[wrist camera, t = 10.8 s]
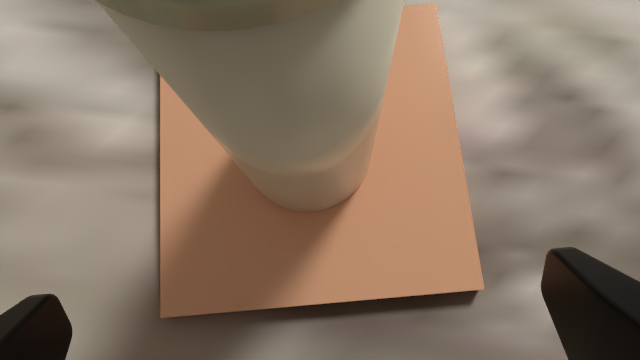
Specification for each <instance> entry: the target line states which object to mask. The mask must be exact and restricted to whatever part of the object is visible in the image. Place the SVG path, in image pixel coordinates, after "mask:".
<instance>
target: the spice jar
mask: <svg viewBox="0 0 640 360" xmlns="http://www.w3.org/2000/svg"><path fill="white" fill-rule="evenodd" d="M96 1H97V2H98V3H99V4H100V5H101V7H102V8H103V9H104V10H105V11H106V12H107V14H108V15H109V16H110V17H111V18H112V19H113V21H114V22H115V23H116V24H117V25H118V26H119V28H120V29H121V30H122V31H123V32H124V33H125V35H126V36H127V37H128V38H129V39H130V40H131V42H132V43H133V44H134V45H135V46H136V47H137V49H138V50H139V51H140V52H141V53H142V54H143V56H144V57H145V58H146V59H147V60H148V61H149V63H150V64H151V65H152V66H153V67H154V68H155V70H156V71H157V72H158V73H159V74H160V75H161V77H162V78H163V79H164V80H165V81H166V82H167V84H168V85H169V86H170V87H171V88H172V89H173V91H174V92H175V93H176V94H177V95H178V96H179V98H180V99H181V100H182V101H183V102H184V103H185V105H186V106H187V107H188V108H189V109H190V110H191V112H192V113H193V114H194V115H195V116H196V117H197V119H198V120H199V121H200V122H201V123H202V124H203V126H204V127H205V128H206V129H207V130H208V131H209V133H210V134H211V135H212V136H213V137H214V138H215V140H216V141H217V142H218V143H219V144H220V145H221V147H222V148H223V149H224V150H225V151H226V152H227V154H228V155H229V156H230V157H231V158H232V159H233V161H234V162H235V163H236V164H237V165H238V166H239V168H240V169H241V170H242V171H243V172H244V173H245V175H246V176H247V177H248V178H249V179H250V180H251V182H252V183H253V184H254V185H255V186H256V187H257V189H258V190H259V191H260V192H261V193H262V194H263V195H264V196H265V197H266V198H267V199H268V200H270V201H271V202H273V203H274V204H276V205H278V206H280V207H282V208H285V209H288V210H291V211H296V212H306V213H307V212H318V211H323V210H326V209H329V208H332V207H334V206H336V205H338V204H340V203H342V202H343V201H345V200H346V199H347V198H349V197H350V196H351V195H352V194H353V193H354V192H355V191H356V190H357V189H358V187H359V186H360V184H361V183H362V181H363V180H364V178H365V176H366V173H367V171H368V168H369V164H370V159H371V154H372V150H373V145H374V140H375V136H376V131H377V126H378V122H379V117H380V112H381V108H382V103H383V98H384V94H385V89H386V84H387V80H388V75H389V70H390V66H391V61H392V56H393V52H394V47H395V43H396V38H397V33H398V29H399V24H400V19H401V15H402V10H403V5H404V1H405V0H96Z"/></svg>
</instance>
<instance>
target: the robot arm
mask: <svg viewBox="0 0 640 360" xmlns="http://www.w3.org/2000/svg"><path fill="white" fill-rule="evenodd" d="M541 291H542V295H543V298H544V301H545V303H546V306H547V308H548V310H549V313H550V315H551V318H552V320H553V323H554V325H555V328H556V330H557V333H558V335H559V338H560V340H561V343H562V345H563V347H564V350H565V352H566V355H567V357H568V360H640V282H639V281H637V280H635V279H633V278H632V277H630V276H628V275H626V274H624V273H622V272H620V271H618V270H616V269H614V268H613V267H611V266H609V265H607V264H605V263H603V262H601V261H599V260H597V259H595V258H594V257H592V256H590V255H588V254H586V253H584V252H582V251H580V250H578V249H576V248H573V247H564V248H553V249H551V250H549V251H548V253H547V255H546V260H545V265H544V270H543V276H542V281H541ZM71 338H72V326H71V323H70V321H69V319H68V317H67V315H66V313H65V311H64V309H63V307H62V305H61V303H60V301H59V299H58V298H57V297H56V296H55V295H54V294H40V295H32V296H29V297H27V298H25V299H24V300H22V301H21V302H19V303H18V304H16V305H15V306H13V307H12V308H10V309H9V310H7V311H6V312H4V313H3V314H1V315H0V360H65V359H66V355H67V352H68V349H69V345H70V342H71Z"/></svg>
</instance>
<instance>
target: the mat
mask: <svg viewBox="0 0 640 360" xmlns="http://www.w3.org/2000/svg"><path fill="white" fill-rule="evenodd" d="M472 290H484V284H483V278H482V272H481V266H480V260H479V254H478V248H477V242H476V236H475V231H474V225H473V219H472V213H471V207H470V201H469V195H468V189H467V183H466V177H465V172H464V166H463V160H462V154H461V148H460V142H459V136H458V130H457V124H456V118H455V112H454V107H453V101H452V95H451V89H450V83H449V77H448V71H447V65H446V59H445V53H444V48H443V42H442V36H441V30H440V24H439V18H438V12H437V6H436V3H434V4H424V5H414V6H404V7H403V10H402V15H401V19H400V24H399V29H398V33H397V38H396V43H395V47H394V52H393V56H392V61H391V66H390V70H389V75H388V80H387V84H386V89H385V94H384V98H383V103H382V108H381V112H380V117H379V122H378V126H377V131H376V136H375V140H374V145H373V150H372V154H371V159H370V164H369V168H368V171H367V173H366V176H365V178H364V180H363V181H362V183H361V184H360V186H359V187H358V189H357V190H356V191H355V192H354V193H353V194H352V195H351V196H350V197H349V198H347V199H346V200H345V201H343V202H342V203H340V204H338V205H336V206H334V207H332V208H329V209H326V210H323V211H318V212H307V213H306V212H296V211H291V210H288V209H285V208H282V207H280V206H278V205H276V204H274V203H273V202H271V201H270V200H268V199H267V198H266V197H265V196H264V195H263V194H262V193H261V192H260V191H259V190H258V189H257V187H256V186H255V185H254V184H253V183H252V182H251V180H250V179H249V178H248V177H247V176H246V175H245V173H244V172H243V171H242V170H241V169H240V168H239V166H238V165H237V164H236V163H235V162H234V161H233V159H232V158H231V157H230V156H229V155H228V154H227V152H226V151H225V150H224V149H223V148H222V147H221V145H220V144H219V143H218V142H217V141H216V140H215V138H214V137H213V136H212V135H211V134H210V133H209V131H208V130H207V129H206V128H205V127H204V126H203V124H202V123H201V122H200V121H199V120H198V119H197V117H196V116H195V115H194V114H193V113H192V112H191V110H190V109H189V108H188V107H187V106H186V105H185V103H184V102H183V101H182V100H181V99H180V98H179V96H178V95H177V94H176V93H175V92H174V91H173V89H172V88H171V87H170V86H169V85H168V84H167V82H166V81H165V80H164V79H163V78H162V77H161V75H160V318H168V317H179V316H190V315H202V314H213V313H224V312H235V311H247V310H258V309H269V308H281V307H292V306H303V305H314V304H326V303H337V302H348V301H359V300H371V299H382V298H393V297H405V296H416V295H427V294H438V293H450V292H461V291H472Z"/></svg>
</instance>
